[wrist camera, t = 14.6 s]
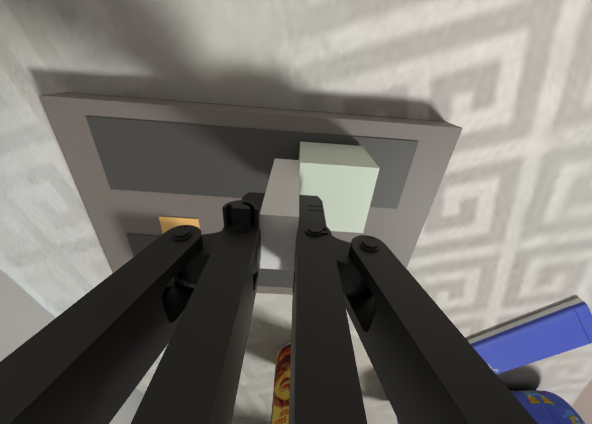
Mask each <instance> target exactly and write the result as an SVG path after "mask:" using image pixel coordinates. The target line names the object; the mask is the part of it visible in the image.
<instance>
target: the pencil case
mask: <svg viewBox="0 0 592 424" xmlns="http://www.w3.org/2000/svg"><path fill="white" fill-rule="evenodd" d="M511 393H512V394H513V395H514V396H515V397H516V398H517V400H518V401H519V402H520V403H521V404H522V405H523V407H524V408H525V409H526V410H527V411H528V413H529V414H530V415H531V416H532V417H533V418H534V420H535V421H536V422H537V423H538V424H585V423H584V422H583V420H582V419H581V417H580V416H579V415H578V413H577V412H576V411H575V410H574V409H573V408H572V407H571V406H570V405H569V404H568V403H567V402H566V401H565V400H563V399H562V398H561V397H559V396H557V395H556V394H553V393H551V392H547V391H535V390H522V391H511ZM397 422H398V424H400V422H399V420H398V418H397Z"/></svg>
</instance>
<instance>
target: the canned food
mask: <svg viewBox="0 0 592 424" xmlns="http://www.w3.org/2000/svg"><path fill="white" fill-rule="evenodd" d="M290 364H291V342H290V343H287V344H286V345H284V346H282V347H281V348H280V349H279V350H278V353H277V355H276V367H275V380H274V392H273V404H272V417H271V424H289V395H290Z"/></svg>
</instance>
